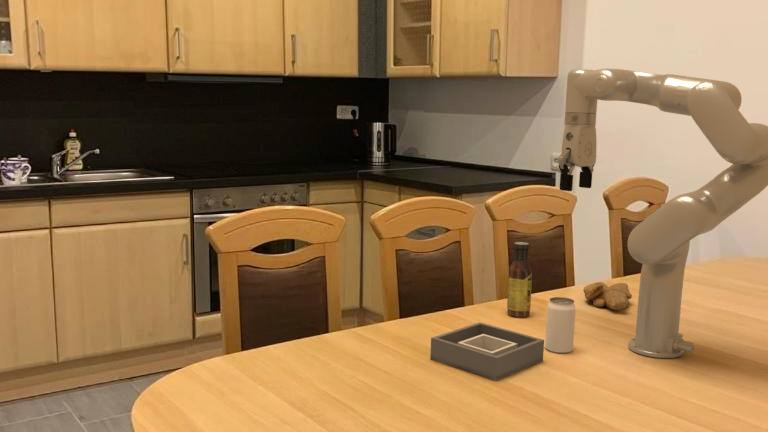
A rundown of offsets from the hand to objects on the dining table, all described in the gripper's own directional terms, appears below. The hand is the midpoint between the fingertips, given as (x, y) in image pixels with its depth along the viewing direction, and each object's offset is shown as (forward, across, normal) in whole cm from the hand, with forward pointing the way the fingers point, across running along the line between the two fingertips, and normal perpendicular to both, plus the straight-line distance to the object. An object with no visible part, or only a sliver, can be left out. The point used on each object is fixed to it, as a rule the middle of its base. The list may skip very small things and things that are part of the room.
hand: (575, 189), depth 197 cm
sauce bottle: (+36, +1, +15) cm, 39 cm away
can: (+36, -16, -7) cm, 41 cm away
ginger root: (+36, +29, +3) cm, 47 cm away
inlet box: (+36, -35, 0) cm, 51 cm away
